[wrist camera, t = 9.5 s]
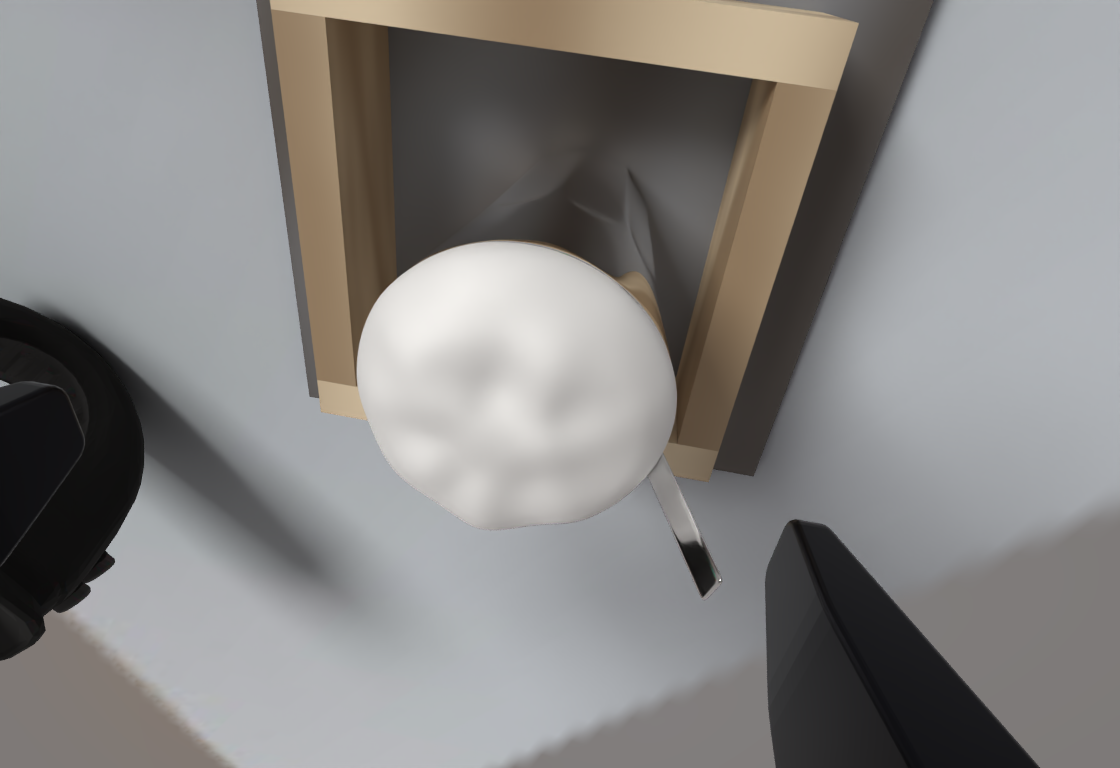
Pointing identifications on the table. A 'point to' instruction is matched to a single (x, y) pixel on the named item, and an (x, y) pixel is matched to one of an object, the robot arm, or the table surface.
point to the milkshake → (533, 361)
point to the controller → (67, 477)
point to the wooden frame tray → (608, 129)
